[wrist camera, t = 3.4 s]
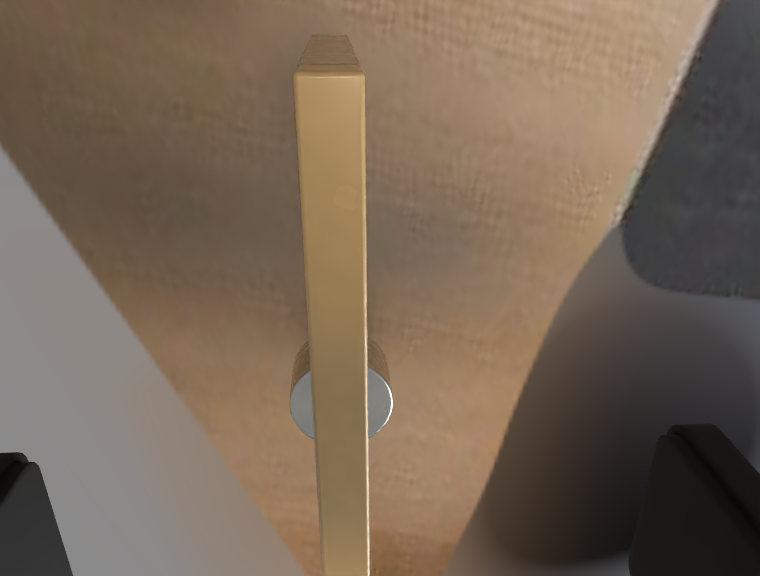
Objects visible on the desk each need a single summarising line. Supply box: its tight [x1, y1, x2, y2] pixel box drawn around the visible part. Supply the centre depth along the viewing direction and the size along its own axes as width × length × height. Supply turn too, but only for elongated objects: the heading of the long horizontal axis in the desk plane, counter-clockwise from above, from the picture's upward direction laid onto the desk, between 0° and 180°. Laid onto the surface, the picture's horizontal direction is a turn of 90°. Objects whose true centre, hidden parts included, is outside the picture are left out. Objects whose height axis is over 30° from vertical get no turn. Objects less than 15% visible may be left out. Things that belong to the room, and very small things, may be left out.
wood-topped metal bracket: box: [290, 35, 393, 576], centre depth 15 cm, size 12×3×8 cm, turn 0°
